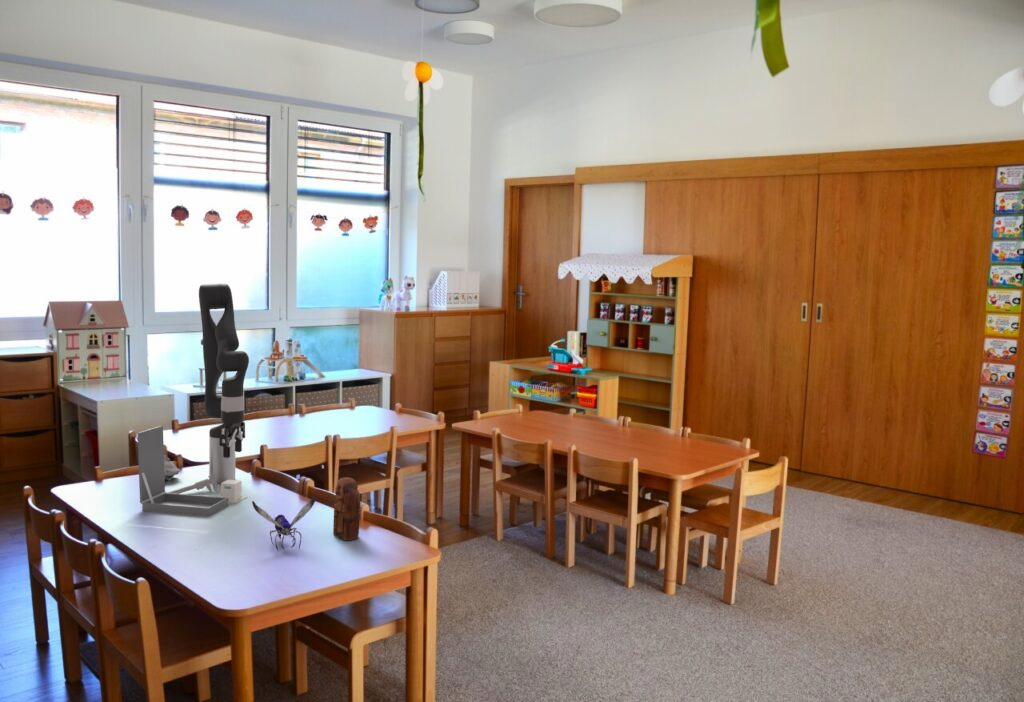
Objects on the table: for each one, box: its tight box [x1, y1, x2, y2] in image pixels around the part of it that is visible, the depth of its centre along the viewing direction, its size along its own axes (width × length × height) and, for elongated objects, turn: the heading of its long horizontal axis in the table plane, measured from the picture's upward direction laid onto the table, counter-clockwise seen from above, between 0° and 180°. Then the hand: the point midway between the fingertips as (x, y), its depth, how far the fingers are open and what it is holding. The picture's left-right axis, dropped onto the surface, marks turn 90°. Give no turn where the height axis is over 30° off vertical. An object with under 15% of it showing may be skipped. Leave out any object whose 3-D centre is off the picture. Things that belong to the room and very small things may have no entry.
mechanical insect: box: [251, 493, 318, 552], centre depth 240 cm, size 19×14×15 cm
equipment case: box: [137, 425, 229, 517], centre depth 271 cm, size 13×25×26 cm, turn 82°
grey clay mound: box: [164, 454, 181, 481], centre depth 307 cm, size 12×12×11 cm
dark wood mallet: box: [332, 476, 361, 541], centre depth 251 cm, size 12×6×18 cm, turn 37°
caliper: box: [166, 475, 218, 494], centre depth 289 cm, size 21×1×6 cm, turn 129°
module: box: [220, 479, 242, 501], centre depth 284 cm, size 5×5×6 cm
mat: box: [228, 495, 248, 504], centre depth 284 cm, size 8×8×1 cm
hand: (232, 454), depth 283 cm, fingers open, 8 cm apart
